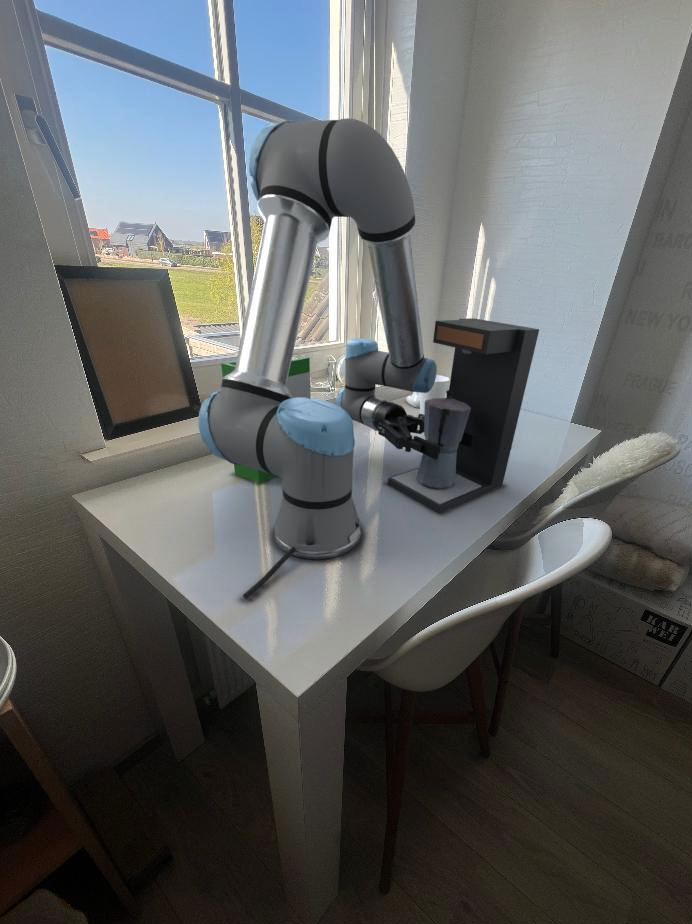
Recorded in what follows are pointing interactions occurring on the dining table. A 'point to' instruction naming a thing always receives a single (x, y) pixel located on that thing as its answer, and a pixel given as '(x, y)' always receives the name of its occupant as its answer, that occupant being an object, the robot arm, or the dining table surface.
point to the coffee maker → (480, 406)
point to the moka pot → (442, 439)
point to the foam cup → (434, 391)
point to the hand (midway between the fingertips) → (456, 447)
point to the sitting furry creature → (414, 399)
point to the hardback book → (298, 388)
